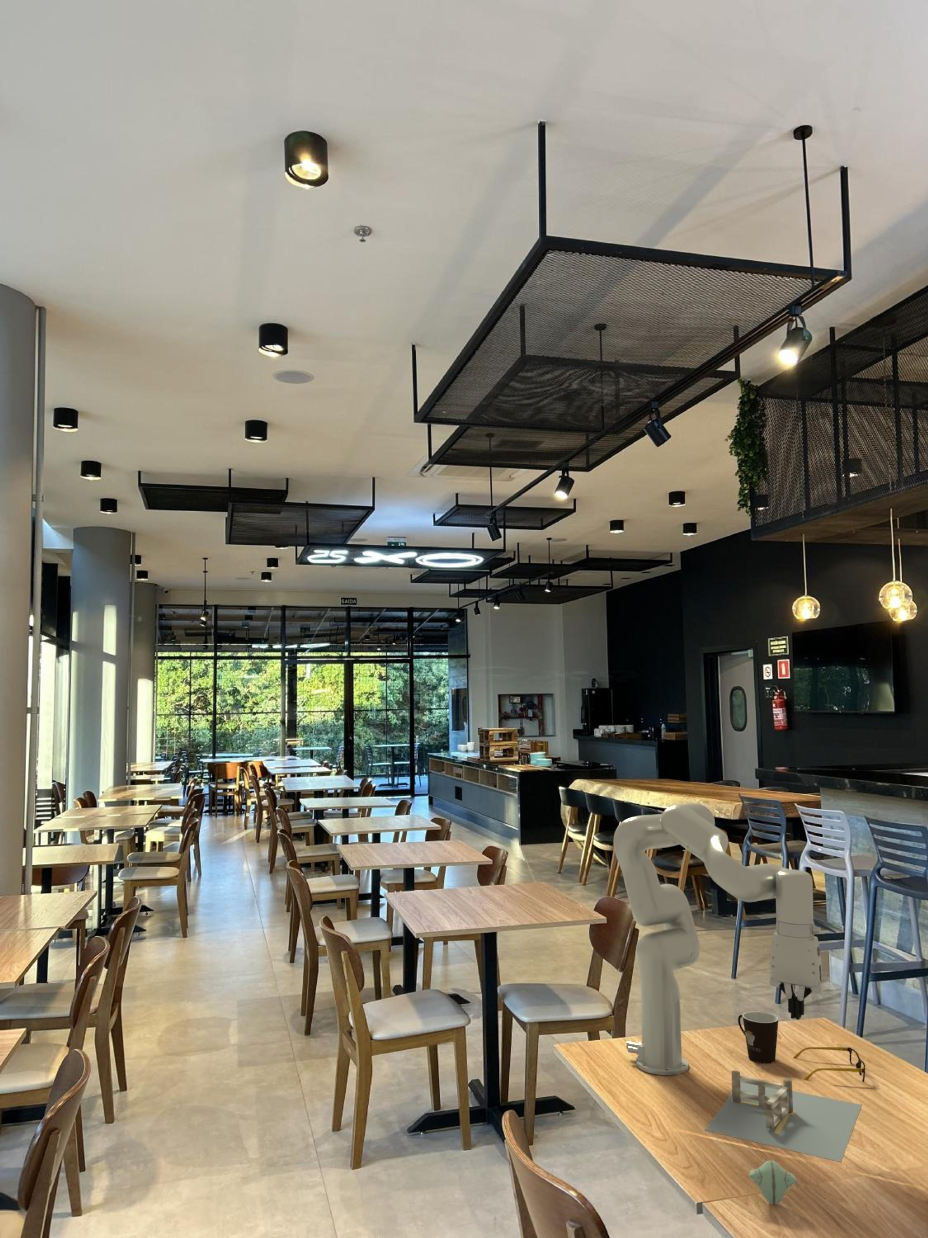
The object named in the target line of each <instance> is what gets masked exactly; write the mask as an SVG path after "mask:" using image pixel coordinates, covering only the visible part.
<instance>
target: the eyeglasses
mask: <svg viewBox="0 0 928 1238" xmlns="http://www.w3.org/2000/svg"><path fill="white" fill-rule="evenodd" d="M807 1050H824V1051H825V1050H826V1051H841V1052H849V1063H850V1065H851V1064H852V1066H853V1062H852V1052H854V1053H855V1055H856V1056H857V1060H858V1061H857V1062H856V1063H855V1067H852V1068H851V1067H820V1068H817V1069H814V1070H813V1071H811V1073H809V1074H808V1075H806V1077H804V1081H808V1080H810V1078H811V1077H812V1076H813V1074H815V1073H816V1072H819V1071H832V1072H833V1071H835V1072H851V1073H859V1076H860V1075H861V1076H862V1081H861V1082H863V1083H864V1082H865V1077H866V1064H865V1062H864V1060H862V1059H861V1058H860V1055H859V1053H858V1051H856V1050H855V1049H854V1048H852V1047H849V1046H847V1047H846V1046H844V1047H843V1046H841V1047H840V1046H808V1047H805V1048H803V1049H801V1050H800V1051H798V1053H796V1054H795V1055H794V1056H793V1059H797V1058H799V1057H800V1056H801V1054H802V1053H803V1052H804V1051H807ZM862 1066H863V1068H862Z"/></svg>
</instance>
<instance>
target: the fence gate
mask: <svg viewBox="0 0 928 1238" xmlns="http://www.w3.org/2000/svg"><path fill="white" fill-rule="evenodd" d="M781 1101H782V1105H781ZM765 1105H766V1128H769V1129H773V1128H774V1127H775V1126H776V1125H777V1124H778V1123H779V1122H780V1121H781V1120H782V1119H783V1118H784V1117H785V1116H786V1115H787V1114H788V1113H789V1112H790V1110H789V1088H788V1087H784V1086H783V1085H782V1088H781V1089H780V1090H779V1091H778V1092H776V1093H775V1094H774V1095H773V1096H772V1097H771V1098H770V1099H769V1100H768V1101H767V1102H766V1103H765Z"/></svg>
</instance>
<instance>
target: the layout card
mask: <svg viewBox="0 0 928 1238" xmlns="http://www.w3.org/2000/svg"><path fill="white" fill-rule="evenodd" d="M740 1086H741V1091H745V1092H750V1093H754V1094H758V1085H753V1084H748V1083H743V1082H740ZM778 1091H779V1090H778V1089H773V1088H768V1087H765V1096H769V1097H772V1096H773V1095H774V1094H775V1093H776V1092H778ZM792 1096H793V1113H788V1114H787V1115H786V1116H785V1117H784V1118H783V1119H782V1120H781V1121H780V1122H779V1123H778V1124H777V1125H776V1126H775V1127H774V1128H773V1129H769V1128H766V1106H765V1108H763V1107H759V1101H756V1100H751V1099H747V1098H742V1097H741V1101H740V1102H734V1101H733V1100H732V1092H731V1093H730V1094H729V1096H728V1098H726V1100H725V1102H724V1103H723V1105H721V1107H720V1108H719V1109H718V1111H717V1112H716V1114H715V1116H713V1118H712V1119H711V1121H710V1122H709V1123H708V1125H707V1126H706V1127H705V1129H704V1131H705V1132H710V1133H715V1134H719V1135H723V1136H727V1137H731V1138H736V1139H739V1140H740V1139H741V1140H744V1141H748V1142H754V1143H758V1144H761V1145H766V1146H770V1147H774V1148H778V1149H783V1150H787V1151H791V1152H796V1153H799V1154H805V1155H808V1156H812V1157H816V1158H821V1159H825V1160H829V1161H835V1162H837V1163H838V1162H839V1163H842V1159H843V1157H844V1155H845V1152H846V1149H847V1148H848V1144H849V1142H850V1138H851V1136H852V1133H853V1131H854V1128H855V1126H856V1122H857V1119H858V1117H859V1113H860V1111H861V1109H862V1106H863V1105H862V1104H859V1103H854V1102H849V1101H845V1100H839V1099H836V1098H830V1097H825V1096H821V1095H820V1096H819V1095H815V1094H809V1093H804V1092H800V1091H796V1090H795V1091H794V1090H792Z"/></svg>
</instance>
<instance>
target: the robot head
mask: <svg viewBox="0 0 928 1238" xmlns="http://www.w3.org/2000/svg"><path fill="white" fill-rule="evenodd" d="M748 1176H749V1178H750V1179H751V1180H752V1182H753V1183H754V1184H755V1185H757V1187H758V1188H759V1189H760V1191H761V1194H762V1197H764V1199H765V1200H766V1201H767V1202H768V1203H769V1204H772V1205H777V1204H780V1203H781V1202H782V1200H783V1199H784V1197H785V1194H786V1192H787V1191H788V1190H789V1189H790V1188H791V1187H793V1186H794V1184H796V1183H797V1182H798V1179H797V1178H796V1176H795V1174H794V1173H791V1172H788V1171H787V1170H786V1169H784V1168H783V1167H781V1165H779V1163H777V1162H776V1161H774V1160H772V1159H771V1160H766V1161H765V1162H763V1164H761V1166H759V1167H757V1168H755V1169H754V1168H753V1169H750V1172H749V1174H748Z"/></svg>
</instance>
